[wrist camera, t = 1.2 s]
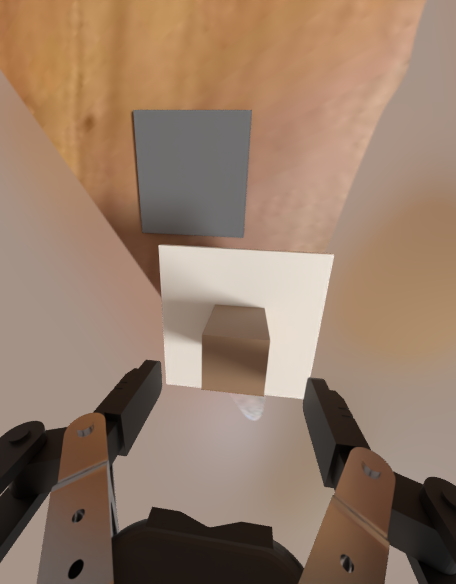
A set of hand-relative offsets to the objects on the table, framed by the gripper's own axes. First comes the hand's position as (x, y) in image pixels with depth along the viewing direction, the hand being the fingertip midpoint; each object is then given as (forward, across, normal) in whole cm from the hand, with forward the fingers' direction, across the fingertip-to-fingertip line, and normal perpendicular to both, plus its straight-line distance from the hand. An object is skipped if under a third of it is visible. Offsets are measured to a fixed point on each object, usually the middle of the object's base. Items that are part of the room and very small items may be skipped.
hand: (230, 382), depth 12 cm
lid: (+7, 0, 0) cm, 7 cm away
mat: (+22, +8, -14) cm, 27 cm away
